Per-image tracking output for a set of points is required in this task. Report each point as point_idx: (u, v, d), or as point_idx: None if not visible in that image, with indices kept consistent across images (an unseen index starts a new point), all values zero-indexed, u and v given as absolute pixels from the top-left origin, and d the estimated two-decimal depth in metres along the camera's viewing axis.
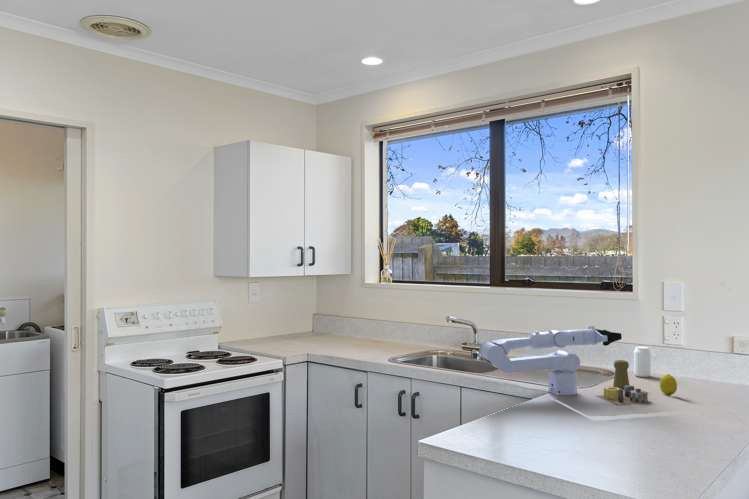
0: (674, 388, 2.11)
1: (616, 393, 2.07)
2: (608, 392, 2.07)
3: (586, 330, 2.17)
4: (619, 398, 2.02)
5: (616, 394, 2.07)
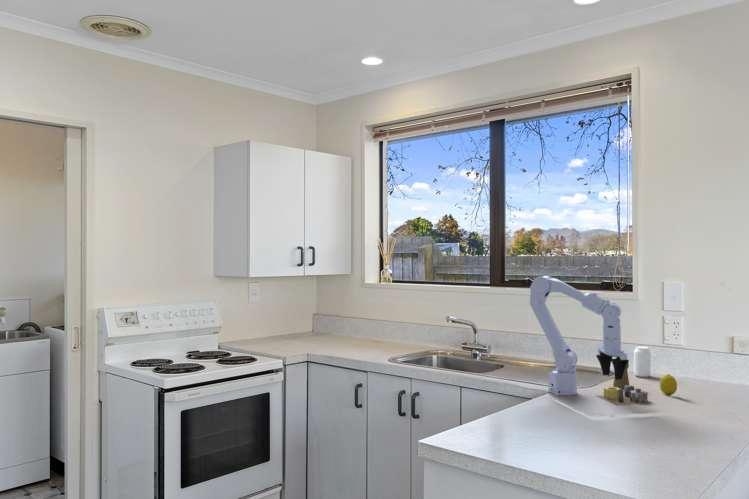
0: (674, 388, 2.11)
1: (616, 393, 2.07)
2: (608, 392, 2.07)
3: (620, 343, 2.08)
4: (619, 398, 2.02)
5: (616, 394, 2.07)
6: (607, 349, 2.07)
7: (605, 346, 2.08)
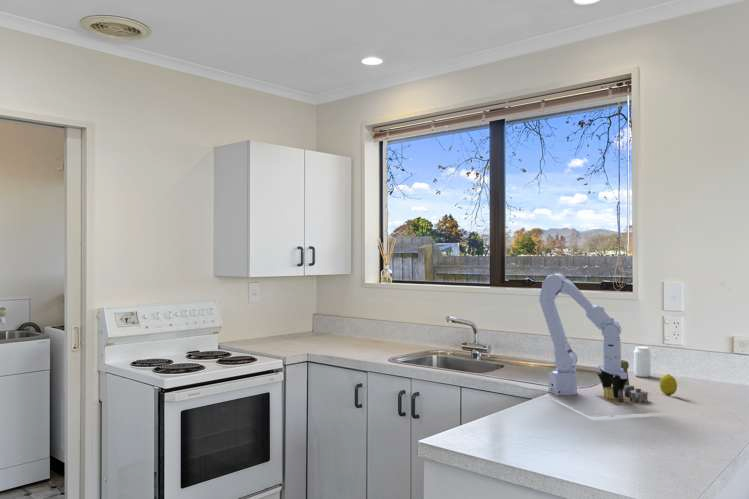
0: (674, 388, 2.11)
1: None
2: (608, 392, 2.07)
3: (620, 361, 2.08)
4: (619, 398, 2.02)
5: None
6: (607, 368, 2.07)
7: (605, 364, 2.08)
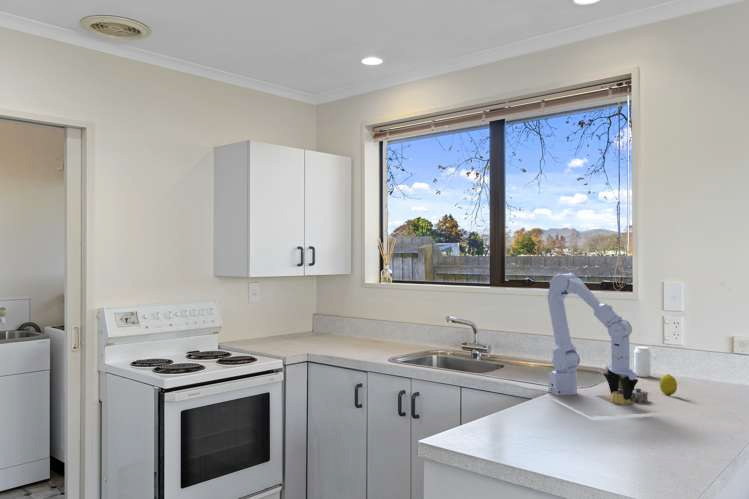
0: (674, 388, 2.11)
1: None
2: (617, 397, 2.01)
3: None
4: None
5: None
6: (615, 368, 2.01)
7: (613, 365, 2.02)
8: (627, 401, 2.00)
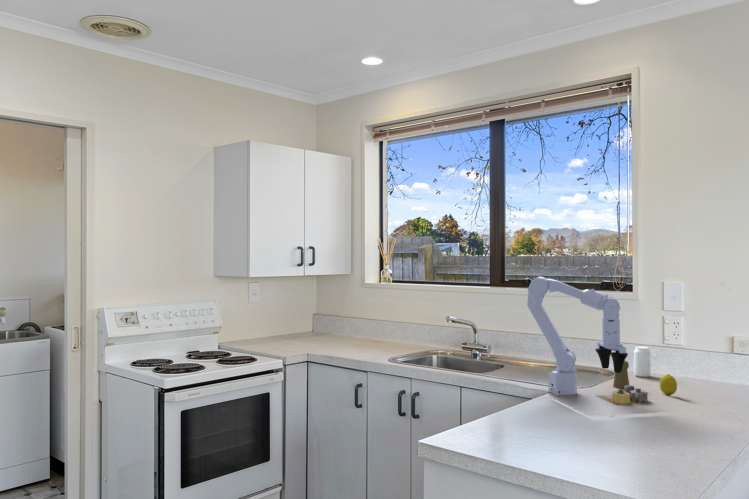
0: (674, 388, 2.11)
1: (625, 398, 2.00)
2: (617, 397, 2.01)
3: (619, 337, 2.10)
4: None
5: (625, 399, 2.00)
6: (606, 343, 2.10)
7: (604, 340, 2.10)
8: (627, 401, 2.00)
